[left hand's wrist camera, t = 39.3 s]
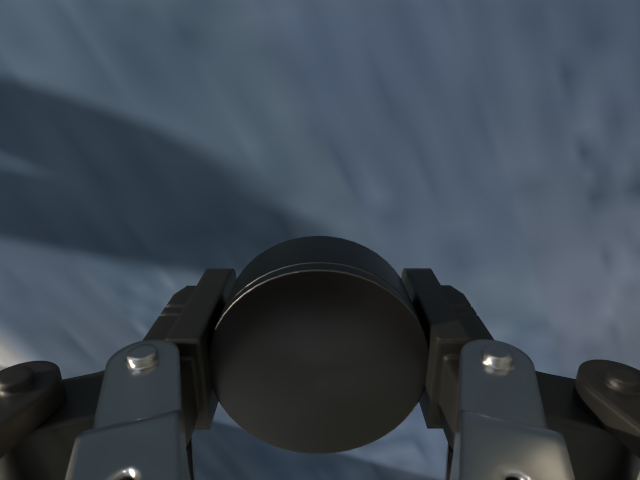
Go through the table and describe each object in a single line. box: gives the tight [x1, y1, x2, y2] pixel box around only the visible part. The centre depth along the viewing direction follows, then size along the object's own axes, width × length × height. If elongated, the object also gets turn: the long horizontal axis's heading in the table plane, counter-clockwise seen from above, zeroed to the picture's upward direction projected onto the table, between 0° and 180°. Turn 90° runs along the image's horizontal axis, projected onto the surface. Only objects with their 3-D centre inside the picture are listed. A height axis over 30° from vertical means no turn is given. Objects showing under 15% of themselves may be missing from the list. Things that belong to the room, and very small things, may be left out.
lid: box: [209, 236, 429, 454], centre depth 10 cm, size 5×5×2 cm
